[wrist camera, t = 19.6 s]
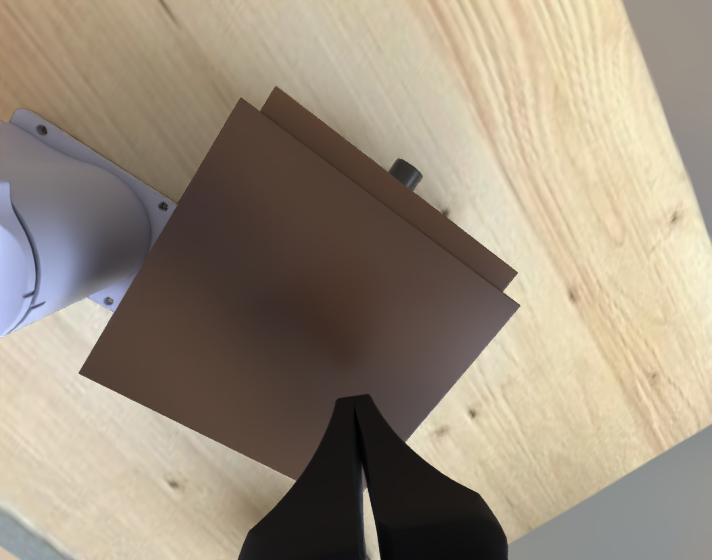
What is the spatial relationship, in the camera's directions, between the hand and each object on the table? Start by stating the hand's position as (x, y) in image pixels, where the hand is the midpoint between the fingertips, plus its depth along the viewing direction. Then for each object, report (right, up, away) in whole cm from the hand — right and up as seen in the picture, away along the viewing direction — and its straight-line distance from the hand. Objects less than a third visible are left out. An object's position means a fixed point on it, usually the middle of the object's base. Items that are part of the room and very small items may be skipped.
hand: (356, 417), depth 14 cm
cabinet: (-3, +5, +9) cm, 11 cm away
